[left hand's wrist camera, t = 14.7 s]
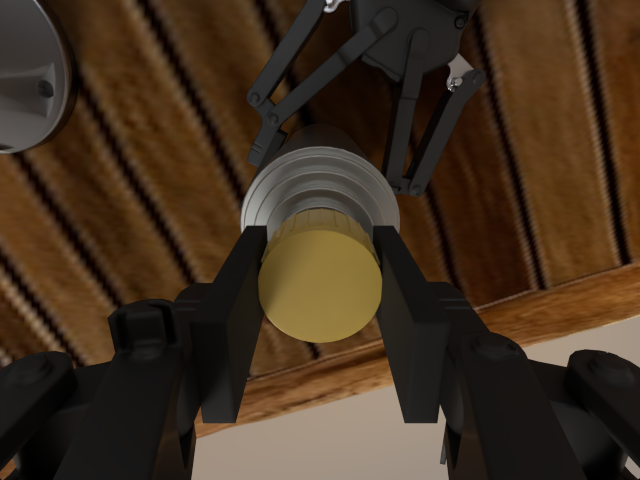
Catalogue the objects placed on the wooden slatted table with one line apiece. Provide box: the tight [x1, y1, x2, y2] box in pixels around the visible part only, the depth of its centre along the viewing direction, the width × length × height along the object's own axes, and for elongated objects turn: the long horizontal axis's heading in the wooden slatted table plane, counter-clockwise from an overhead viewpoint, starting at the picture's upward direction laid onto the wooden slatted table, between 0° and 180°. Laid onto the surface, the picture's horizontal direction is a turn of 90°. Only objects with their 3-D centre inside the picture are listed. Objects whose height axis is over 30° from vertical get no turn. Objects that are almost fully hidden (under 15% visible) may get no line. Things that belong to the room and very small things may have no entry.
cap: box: [258, 208, 382, 342], centre depth 13 cm, size 4×4×2 cm
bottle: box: [240, 123, 400, 243], centre depth 24 cm, size 8×8×25 cm
